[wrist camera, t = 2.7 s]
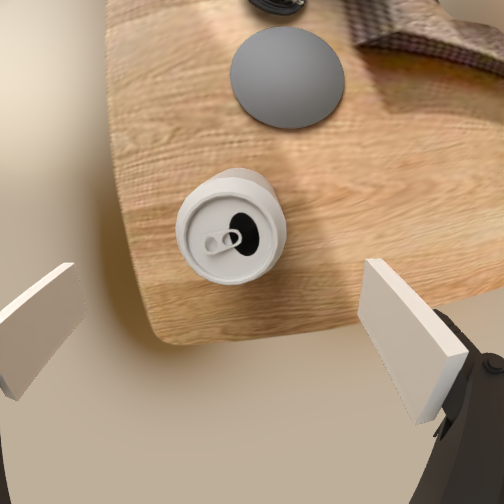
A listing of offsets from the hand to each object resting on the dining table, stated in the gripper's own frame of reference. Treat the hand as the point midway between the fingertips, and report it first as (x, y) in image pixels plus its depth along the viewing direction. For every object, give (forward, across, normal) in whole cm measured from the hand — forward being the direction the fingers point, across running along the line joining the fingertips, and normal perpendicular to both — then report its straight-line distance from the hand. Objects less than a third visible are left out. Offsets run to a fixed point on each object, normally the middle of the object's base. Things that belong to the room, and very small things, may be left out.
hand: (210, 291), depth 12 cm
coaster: (+18, +5, +13) cm, 23 cm away
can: (+18, 0, 0) cm, 18 cm away
